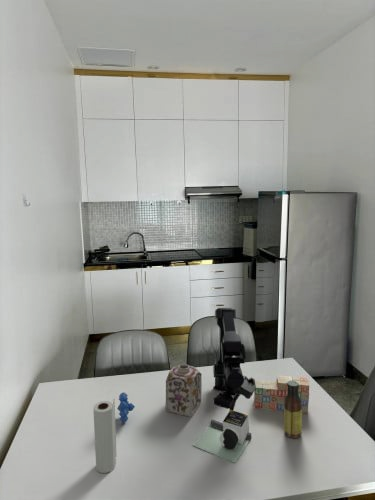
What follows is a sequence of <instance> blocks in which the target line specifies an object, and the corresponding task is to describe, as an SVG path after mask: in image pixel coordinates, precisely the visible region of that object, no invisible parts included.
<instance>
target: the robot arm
mask: <svg viewBox="0 0 375 500" xmlns="http://www.w3.org/2000/svg"><path fill="white" fill-rule="evenodd" d="M236 311H237V310H236V309H234V308H232V307H217V308H216V309H215V310H214V319H216V325H217V326H218V328H219V337H218V338H219V341H218V343H219V344H218V354H217V356H216V357H215V358H214V360H215V361H214V363H213V366H212V372H213V374H212V375H213V378H214V386H213V389H214V390H217V391H219V392H218V393H217V394H216V395H215V396H214V397H213V405H215V406H217V407H220V408H224V409H227V410H228V409H229V411H230V410H233V411H235V406H236V402H237V400H238V399H239V397H240V396H241V395H242V396H243V397H244V398H245V399H247V400H250V399H251V398H252V396H253V394H254V390H255V388H256V385H255V380H256V379H255V378H253V377H252V376H251V377H250V378H248V376H246V375H243V371H242V368H241V364H245V360H246V358H247V357H246V349H245V348H246V347H245V345H244V343H243V342H242V339H241V336H240V335H239V334H238V333H237V331H236V330H237V329H236V325H235V319H237V312H236ZM240 356H241V357H240ZM220 391H221V392H220Z"/></svg>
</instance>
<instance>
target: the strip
mask: <svg viewBox="0 0 375 500" xmlns="http://www.w3.org/2000/svg"><path fill="white" fill-rule="evenodd" d="M210 427H213V428H216V427H217V428H216V429H218V430H219V429H220V430H221V431H222V430H223V422H220V421H217V420H215V419H211V420H210ZM245 439H247V440H248V441H250V440H251V439H252V433H251V432H250V431H249V432H248V434H247V436H246V438H245Z"/></svg>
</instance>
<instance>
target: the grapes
mask: <svg viewBox="0 0 375 500" xmlns="http://www.w3.org/2000/svg"><path fill="white" fill-rule="evenodd" d="M118 397H119V398H118V400H119V401H120V402H119V404H118V406H117V410H118V411H119V413H118V415H119V416H120V417H119V419H118V420H119V421H120V422H121V423H122V424H125V423H126V422H127V421H128V420H129V417H128V414H129V413H130V412H131V411H133V410H134V409H135V407H136V406H135V405H134V404H133V403H131V402H129V401H128V394H127V393H126V392H121V393H120V395H118Z"/></svg>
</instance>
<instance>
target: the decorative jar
mask: <svg viewBox="0 0 375 500" xmlns="http://www.w3.org/2000/svg"><path fill="white" fill-rule="evenodd" d="M202 383H203V382H202V373H201V372H200V371H199V370H198V369H197V368H196V367H195V366H192V365H189V364H186V363H181V364H178V365H176V366H173V367H172V368H171V369H170V370H169V371H168V374H167V376H166V380H165V411H166V412H168V413H169V412H170V413H173V414H176V415H182V416H185V417H189V418H192V417H193V416H194V414H195V413H196V411H197V410H198V408H199V407H200V405H201V404H202V392H203V391H202V386H203V385H202Z"/></svg>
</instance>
